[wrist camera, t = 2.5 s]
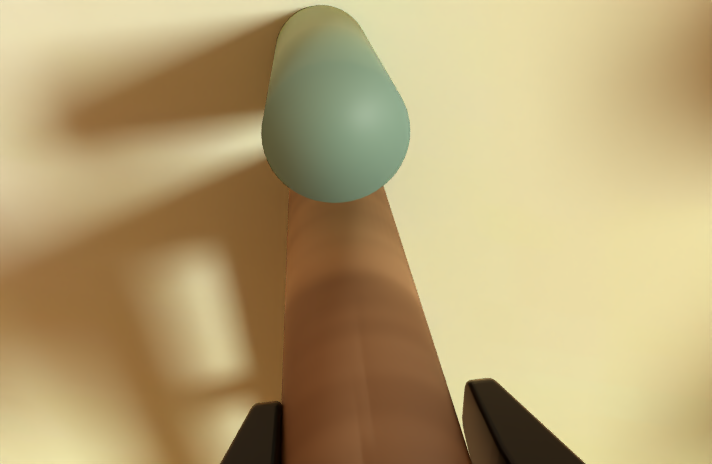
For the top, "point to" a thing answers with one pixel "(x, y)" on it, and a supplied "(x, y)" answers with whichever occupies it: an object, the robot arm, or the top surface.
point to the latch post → (331, 110)
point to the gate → (359, 345)
